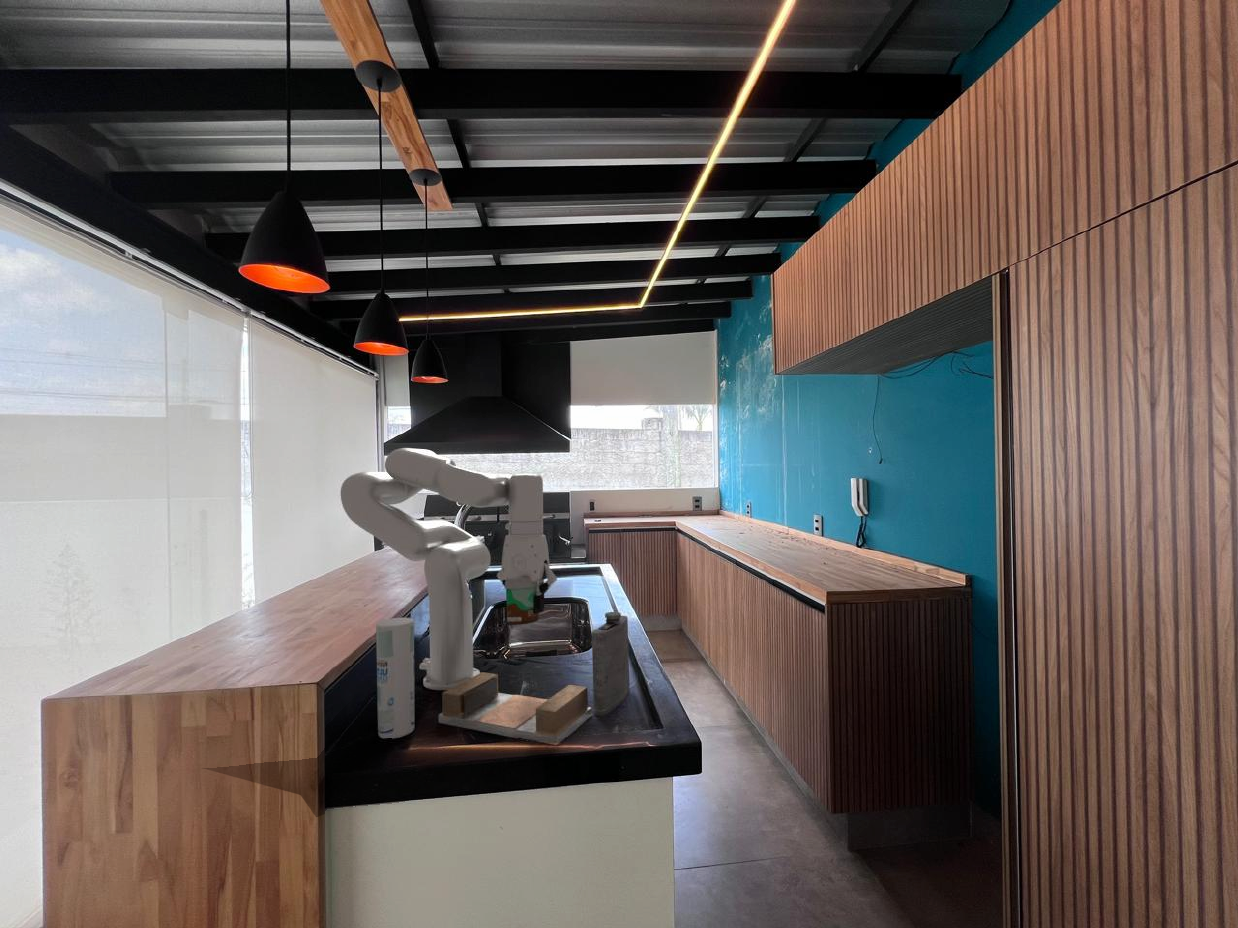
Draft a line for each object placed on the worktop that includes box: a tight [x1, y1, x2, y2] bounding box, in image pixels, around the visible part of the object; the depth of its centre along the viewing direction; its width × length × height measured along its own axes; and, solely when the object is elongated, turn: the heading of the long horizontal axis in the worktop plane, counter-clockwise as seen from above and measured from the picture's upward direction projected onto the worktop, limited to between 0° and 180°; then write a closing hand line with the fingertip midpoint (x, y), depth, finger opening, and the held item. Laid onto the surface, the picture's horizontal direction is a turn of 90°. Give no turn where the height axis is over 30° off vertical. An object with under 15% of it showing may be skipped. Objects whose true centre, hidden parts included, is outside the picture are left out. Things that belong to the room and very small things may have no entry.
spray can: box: [375, 617, 415, 740], centre depth 100 cm, size 6×6×20 cm
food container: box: [504, 577, 542, 626], centre depth 119 cm, size 12×6×10 cm, turn 168°
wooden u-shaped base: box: [438, 671, 592, 743], centre depth 103 cm, size 26×13×6 cm, turn 66°
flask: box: [591, 611, 631, 717], centre depth 111 cm, size 4×14×18 cm, turn 158°
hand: (526, 610), depth 119 cm, fingers closed on food container, 5 cm apart
